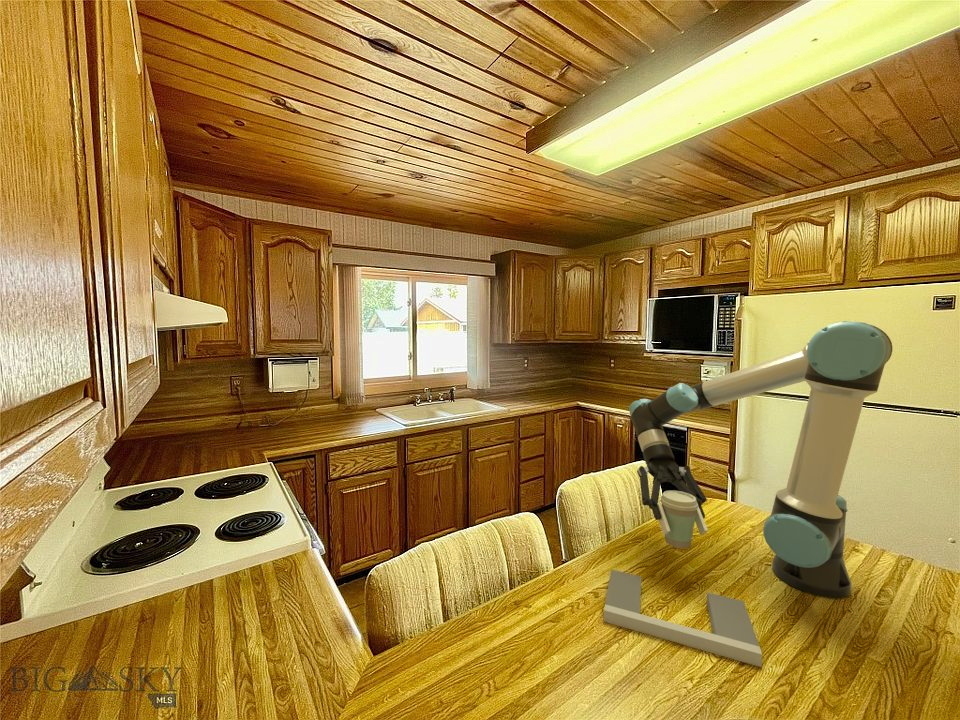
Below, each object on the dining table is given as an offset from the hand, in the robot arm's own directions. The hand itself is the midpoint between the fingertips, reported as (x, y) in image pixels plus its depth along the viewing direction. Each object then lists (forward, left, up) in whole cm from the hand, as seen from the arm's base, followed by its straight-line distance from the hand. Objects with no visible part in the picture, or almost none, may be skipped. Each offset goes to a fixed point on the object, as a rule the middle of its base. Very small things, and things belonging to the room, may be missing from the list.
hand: (685, 532), depth 95 cm
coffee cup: (+1, -3, -4) cm, 6 cm away
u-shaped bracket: (+2, +12, -13) cm, 18 cm away
